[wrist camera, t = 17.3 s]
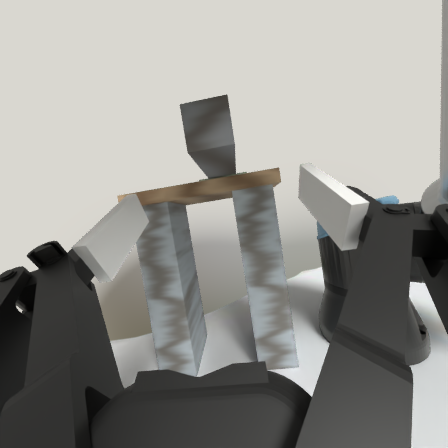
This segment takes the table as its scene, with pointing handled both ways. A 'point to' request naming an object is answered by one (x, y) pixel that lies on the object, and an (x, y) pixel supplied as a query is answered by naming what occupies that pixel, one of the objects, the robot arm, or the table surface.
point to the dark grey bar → (210, 135)
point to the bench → (187, 276)
